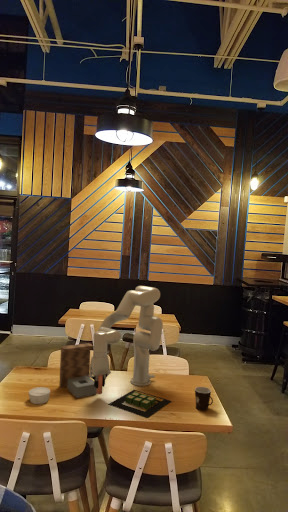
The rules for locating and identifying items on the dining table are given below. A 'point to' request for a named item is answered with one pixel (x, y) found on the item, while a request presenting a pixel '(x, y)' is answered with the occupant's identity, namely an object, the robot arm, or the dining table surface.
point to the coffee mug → (202, 398)
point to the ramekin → (39, 395)
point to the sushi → (140, 403)
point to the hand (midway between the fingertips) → (99, 386)
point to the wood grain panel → (74, 362)
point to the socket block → (81, 386)
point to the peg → (99, 384)
